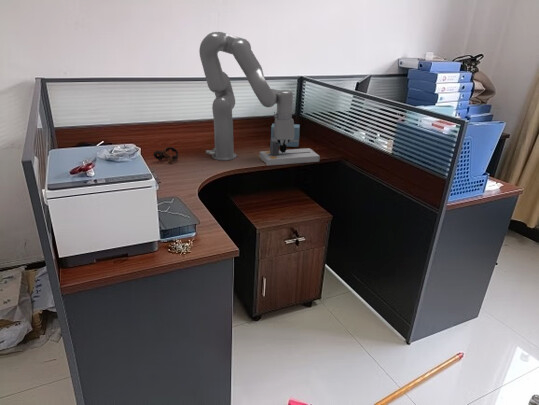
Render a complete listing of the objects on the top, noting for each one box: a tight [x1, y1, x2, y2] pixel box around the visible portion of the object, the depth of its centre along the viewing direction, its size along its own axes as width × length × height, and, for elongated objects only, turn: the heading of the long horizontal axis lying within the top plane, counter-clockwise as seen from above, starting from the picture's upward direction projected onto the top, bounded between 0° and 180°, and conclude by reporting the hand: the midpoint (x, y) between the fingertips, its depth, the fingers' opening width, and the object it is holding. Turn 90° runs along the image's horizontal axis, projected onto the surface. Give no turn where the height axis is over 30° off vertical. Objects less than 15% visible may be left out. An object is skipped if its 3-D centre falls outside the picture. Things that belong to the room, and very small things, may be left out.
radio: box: [270, 111, 301, 149], centre depth 222 cm, size 16×9×20 cm, turn 84°
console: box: [259, 147, 320, 166], centre depth 202 cm, size 28×14×3 cm, turn 106°
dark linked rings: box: [153, 146, 179, 165], centre depth 194 cm, size 12×10×8 cm
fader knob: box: [269, 140, 280, 156], centre depth 198 cm, size 3×5×6 cm, turn 16°
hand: (282, 151), depth 200 cm, fingers closed
